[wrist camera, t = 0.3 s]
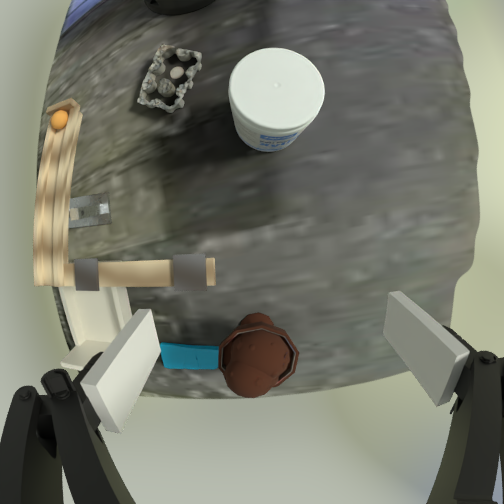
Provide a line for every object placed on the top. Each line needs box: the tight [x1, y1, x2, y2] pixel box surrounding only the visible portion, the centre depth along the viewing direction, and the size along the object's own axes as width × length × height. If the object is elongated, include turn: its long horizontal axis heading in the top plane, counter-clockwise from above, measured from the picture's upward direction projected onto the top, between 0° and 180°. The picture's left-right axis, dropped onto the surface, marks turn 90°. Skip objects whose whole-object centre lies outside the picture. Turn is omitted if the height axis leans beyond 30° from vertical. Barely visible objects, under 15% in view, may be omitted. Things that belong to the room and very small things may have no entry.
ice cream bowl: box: [218, 313, 299, 398], centre depth 37 cm, size 11×11×15 cm
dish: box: [59, 260, 132, 371], centre depth 39 cm, size 17×13×9 cm
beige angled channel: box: [33, 98, 216, 291], centre depth 30 cm, size 28×26×4 cm
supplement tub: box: [229, 48, 324, 152], centre depth 29 cm, size 10×10×15 cm
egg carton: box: [137, 44, 202, 113], centre depth 33 cm, size 11×8×4 cm
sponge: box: [160, 342, 219, 369], centre depth 45 cm, size 2×12×6 cm
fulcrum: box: [68, 192, 112, 228], centre depth 35 cm, size 5×11×8 cm, turn 93°
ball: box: [51, 110, 68, 129], centre depth 30 cm, size 3×3×3 cm
